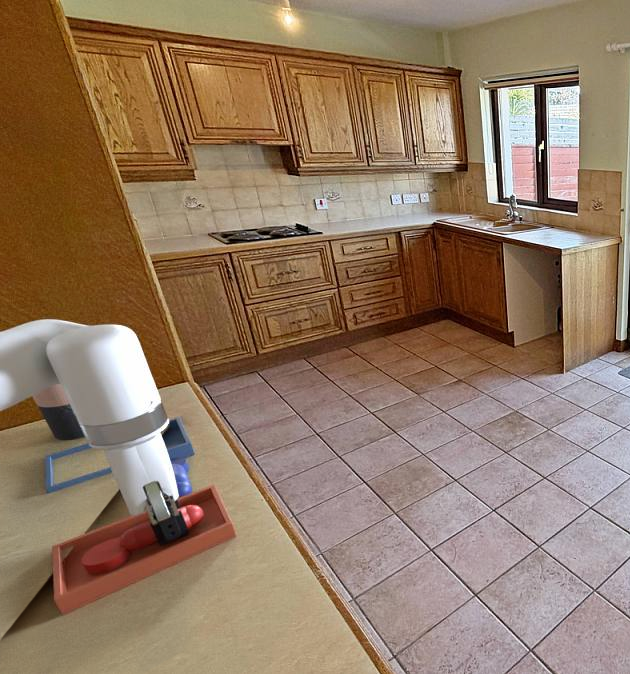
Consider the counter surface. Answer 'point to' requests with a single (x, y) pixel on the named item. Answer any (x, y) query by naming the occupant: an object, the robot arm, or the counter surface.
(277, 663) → the counter surface
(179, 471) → the blue lumpy rod
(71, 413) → the travel mug
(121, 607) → the counter surface
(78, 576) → the terracotta tray
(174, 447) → the blue long rectangular frame
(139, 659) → the counter surface
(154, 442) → the robot arm
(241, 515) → the counter surface
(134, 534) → the red spoon
